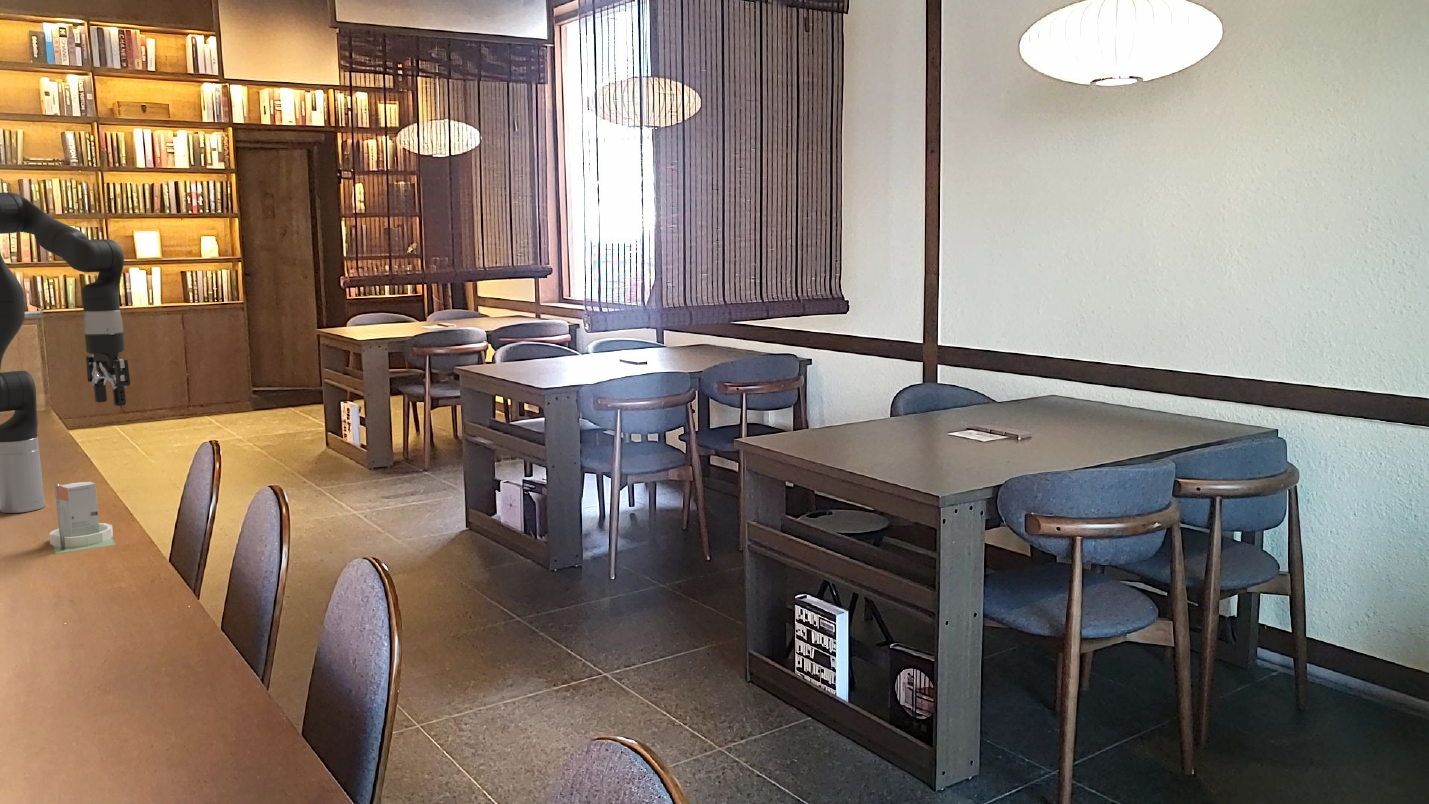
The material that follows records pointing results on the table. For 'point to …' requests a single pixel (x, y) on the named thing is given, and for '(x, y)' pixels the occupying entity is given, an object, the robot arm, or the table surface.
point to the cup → (83, 537)
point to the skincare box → (80, 510)
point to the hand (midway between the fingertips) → (110, 403)
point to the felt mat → (96, 545)
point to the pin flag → (61, 495)
